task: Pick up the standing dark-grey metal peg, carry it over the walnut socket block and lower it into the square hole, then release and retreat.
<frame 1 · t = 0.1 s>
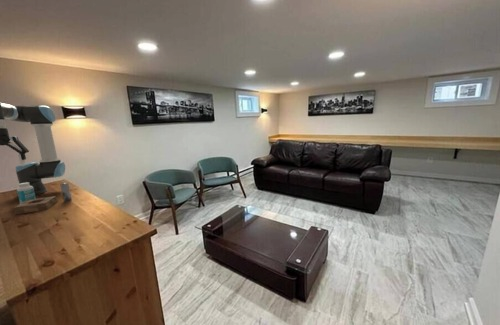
hand: (6, 167, 113), 28 cm above the table, fingers open, 13 cm apart
socket block: (37, 207, 128), on the table
peg: (67, 200, 138), on the table
pill bottle: (28, 203, 136), on the table
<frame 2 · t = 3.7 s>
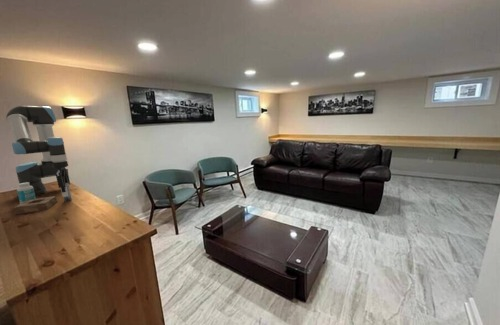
hand: (66, 195, 138), 4 cm above the table, fingers closed on peg, 4 cm apart
peg: (68, 200, 139), on the table, touching gripper
everything else where it was.
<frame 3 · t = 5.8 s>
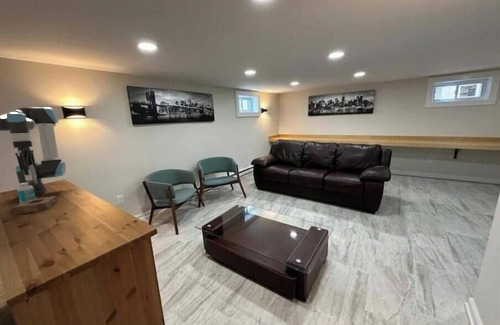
hand: (31, 179, 124), 18 cm above the table, fingers closed on peg, 4 cm apart
peg: (32, 184, 125), point 15 cm above the table, touching gripper
everything else where it was.
when the fingers open (5 cm above the table, at t = 7.8 s): peg drops 2 cm, resting in socket block.
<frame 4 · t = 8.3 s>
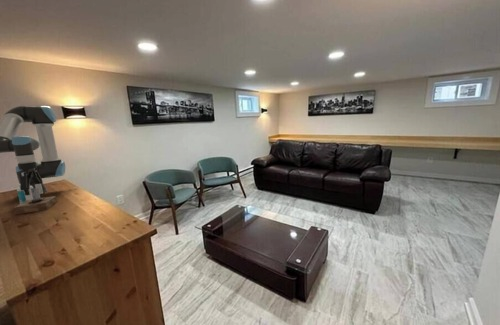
hand: (35, 196, 127), 7 cm above the table, fingers open, 11 cm apart
peg: (38, 207, 128), resting in socket block
everything else where it was.
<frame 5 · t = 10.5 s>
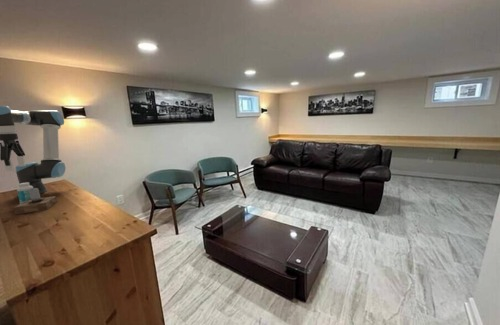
hand: (16, 168, 125), 25 cm above the table, fingers open, 13 cm apart
nothing on the table moved.
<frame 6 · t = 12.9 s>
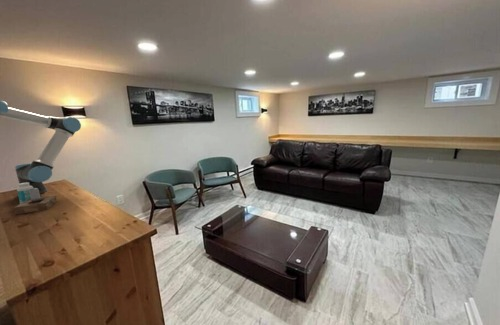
nothing on the table moved.
at the end: peg 0.1 cm off-centre on the socket block, point 0.0 cm above the socket block's base; peg tilted 0°; the gripper is holding nothing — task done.
